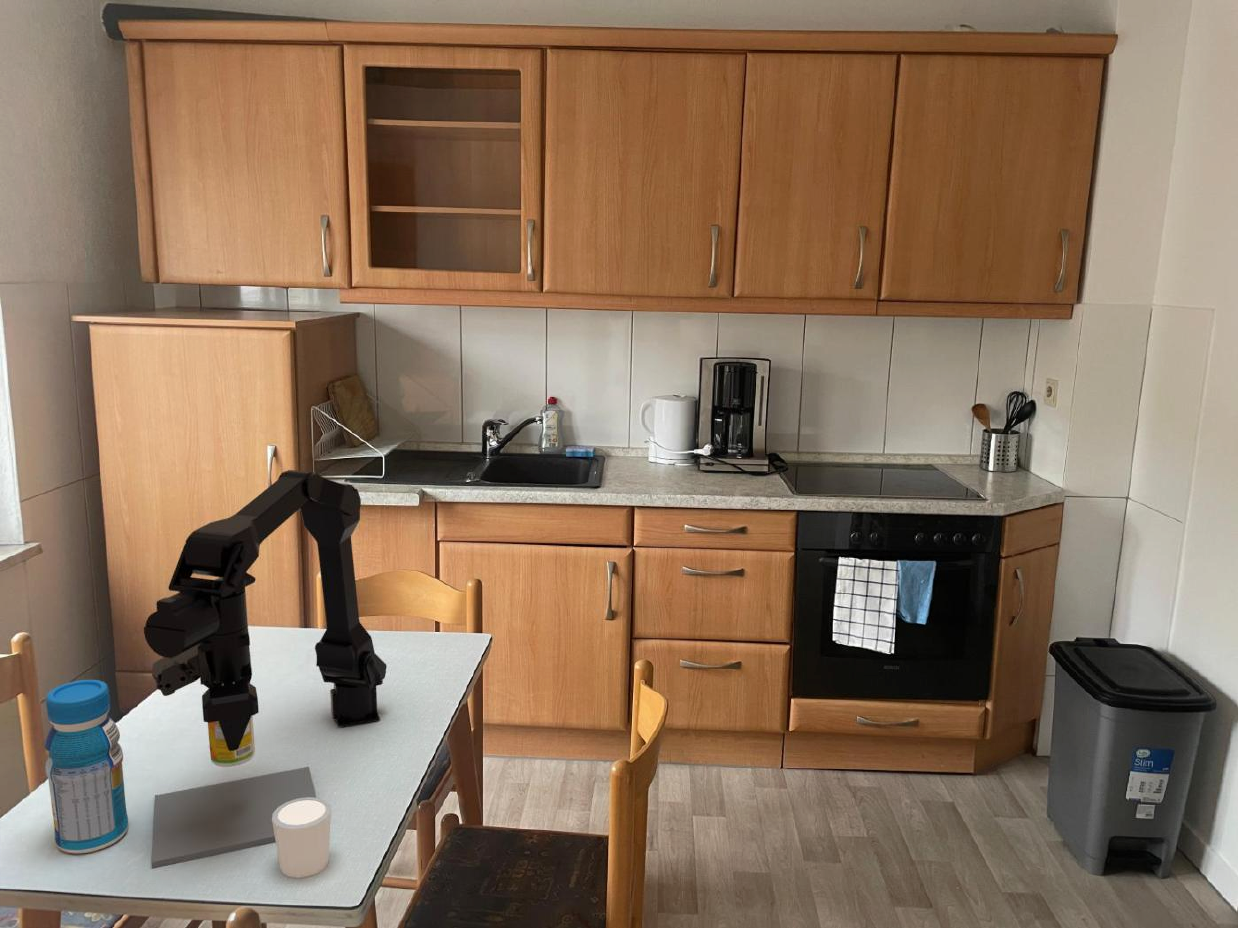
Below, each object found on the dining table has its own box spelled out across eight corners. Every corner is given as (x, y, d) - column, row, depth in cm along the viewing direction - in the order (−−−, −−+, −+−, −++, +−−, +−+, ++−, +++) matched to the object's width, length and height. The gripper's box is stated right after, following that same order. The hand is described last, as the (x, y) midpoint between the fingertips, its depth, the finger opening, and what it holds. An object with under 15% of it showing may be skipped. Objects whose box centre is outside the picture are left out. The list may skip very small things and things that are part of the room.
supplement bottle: (218, 747, 127) (213, 679, 125) (260, 746, 128) (255, 678, 126) (204, 768, 122) (199, 698, 120) (248, 767, 122) (243, 697, 120)
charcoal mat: (309, 771, 138) (308, 766, 138) (323, 831, 123) (323, 825, 123) (155, 800, 130) (154, 795, 130) (151, 868, 115) (151, 862, 115)
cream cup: (279, 887, 112) (276, 833, 111) (271, 855, 118) (267, 804, 117) (339, 871, 115) (336, 818, 114) (328, 841, 121) (325, 790, 120)
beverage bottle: (78, 864, 116) (61, 711, 112) (40, 841, 120) (23, 694, 116) (144, 830, 123) (130, 685, 119) (106, 810, 127) (91, 670, 123)
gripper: (155, 610, 126) (164, 719, 129) (150, 665, 110) (162, 788, 113) (245, 599, 131) (252, 705, 134) (254, 650, 114) (262, 769, 117)
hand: (232, 739), depth 124 cm, fingers closed on supplement bottle, 5 cm apart
